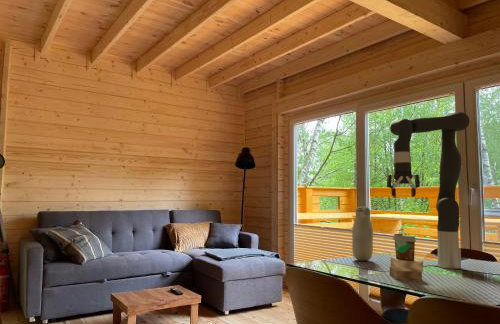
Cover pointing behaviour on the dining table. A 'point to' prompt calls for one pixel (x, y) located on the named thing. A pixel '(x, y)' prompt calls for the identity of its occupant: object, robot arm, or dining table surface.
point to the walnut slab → (405, 275)
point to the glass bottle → (362, 235)
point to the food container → (404, 247)
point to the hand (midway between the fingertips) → (403, 196)
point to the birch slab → (407, 265)
